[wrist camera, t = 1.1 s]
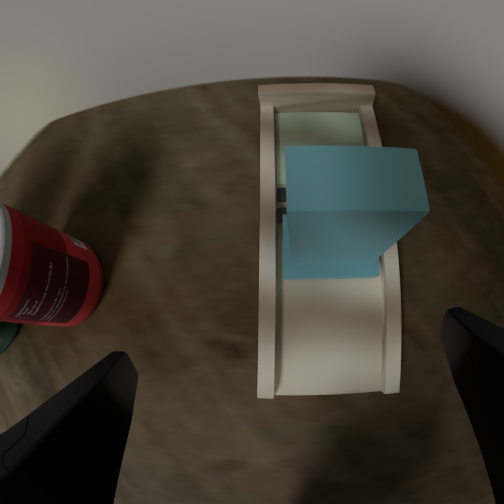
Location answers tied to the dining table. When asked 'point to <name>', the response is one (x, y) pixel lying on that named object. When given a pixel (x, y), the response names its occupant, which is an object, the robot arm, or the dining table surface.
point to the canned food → (45, 273)
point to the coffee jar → (7, 334)
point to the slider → (348, 208)
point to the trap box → (320, 290)
